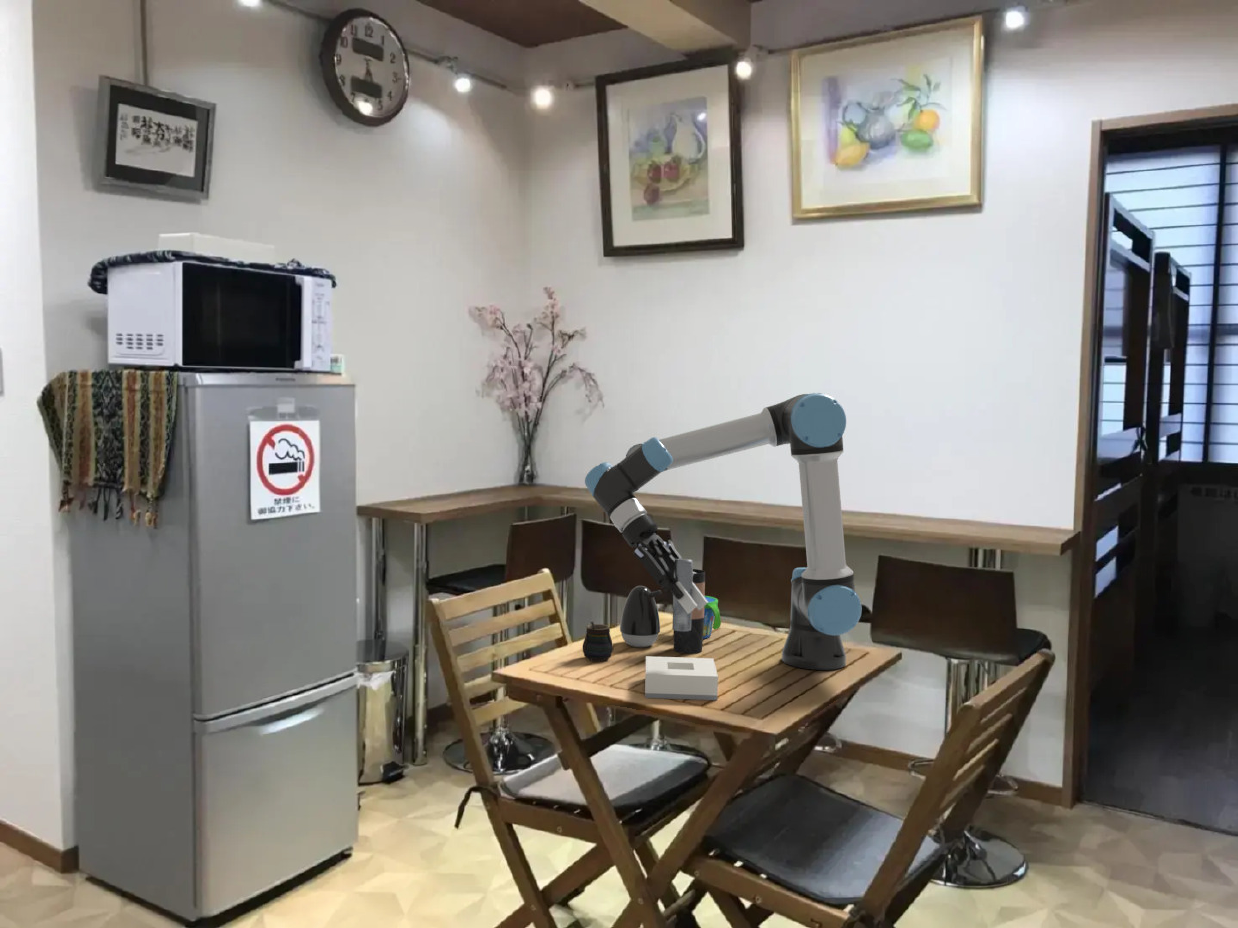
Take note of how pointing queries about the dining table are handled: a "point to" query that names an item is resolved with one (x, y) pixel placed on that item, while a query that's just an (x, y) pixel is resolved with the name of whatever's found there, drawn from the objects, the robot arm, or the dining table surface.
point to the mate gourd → (597, 642)
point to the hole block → (681, 678)
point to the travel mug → (692, 623)
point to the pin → (685, 576)
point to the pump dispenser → (640, 618)
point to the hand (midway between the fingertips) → (697, 607)
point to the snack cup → (711, 616)
